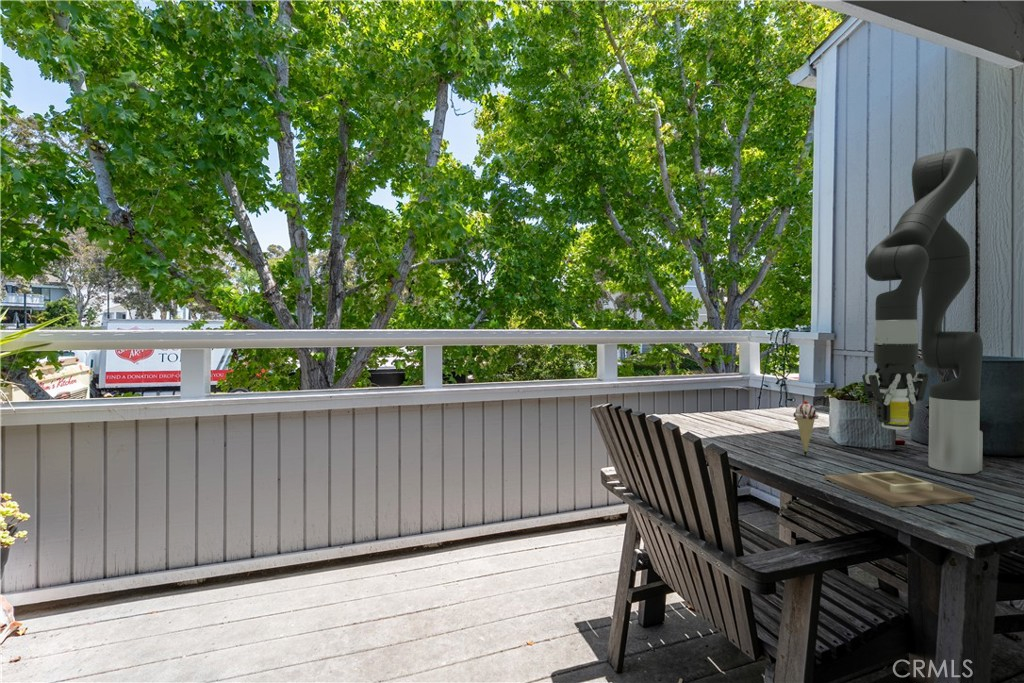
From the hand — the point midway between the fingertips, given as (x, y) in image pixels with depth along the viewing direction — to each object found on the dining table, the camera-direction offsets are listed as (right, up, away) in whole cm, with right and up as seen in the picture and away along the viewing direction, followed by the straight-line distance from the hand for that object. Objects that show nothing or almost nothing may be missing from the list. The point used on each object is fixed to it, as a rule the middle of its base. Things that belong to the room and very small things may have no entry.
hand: (894, 421), depth 108 cm
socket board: (0, -15, 0) cm, 15 cm away
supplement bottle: (0, -2, 0) cm, 2 cm away
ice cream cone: (-3, -14, +28) cm, 32 cm away
